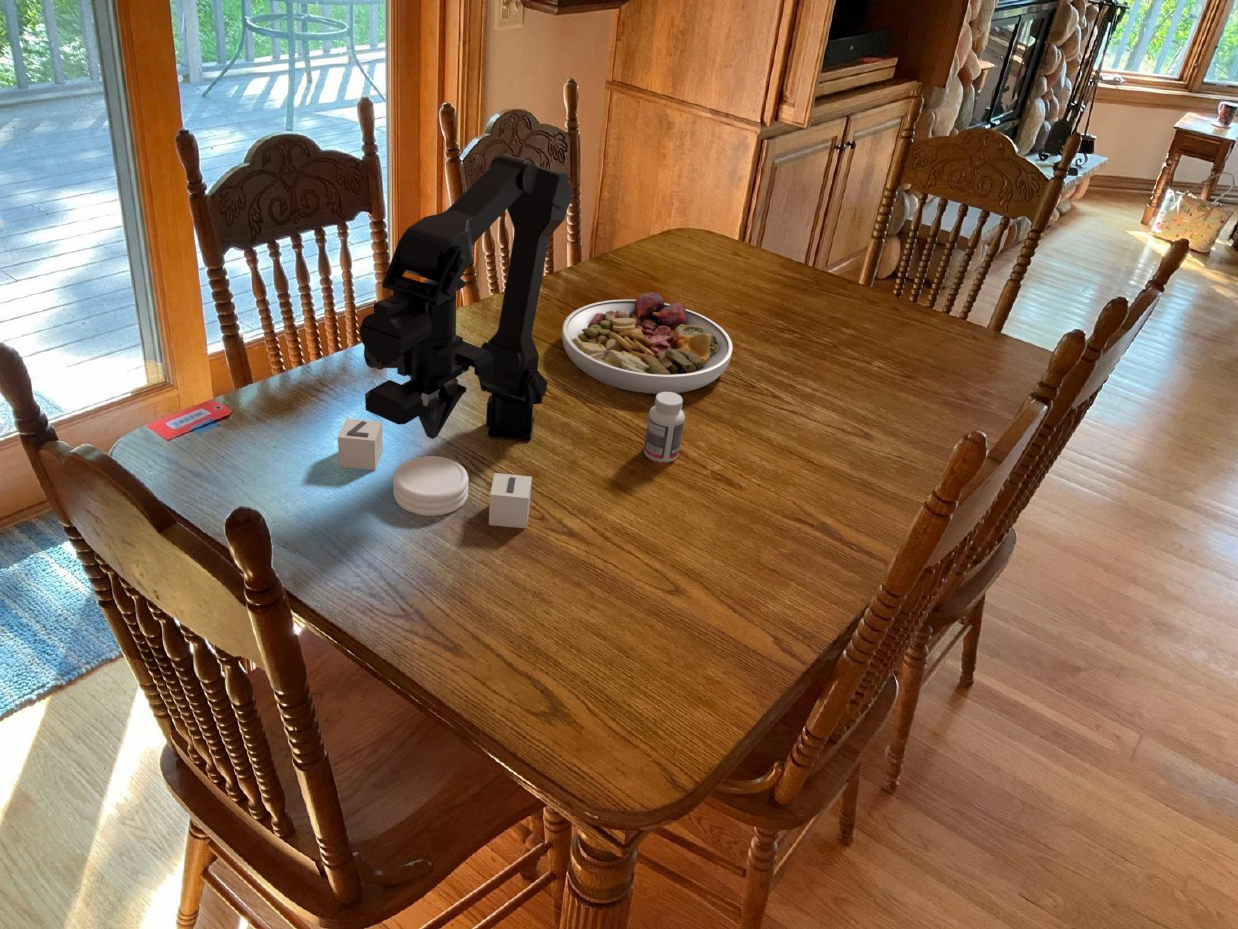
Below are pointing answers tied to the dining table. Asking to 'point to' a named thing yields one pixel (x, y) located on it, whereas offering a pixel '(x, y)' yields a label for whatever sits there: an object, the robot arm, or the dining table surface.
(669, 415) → the pill bottle
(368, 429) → the block seven
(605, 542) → the dining table surface
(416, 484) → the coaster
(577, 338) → the bowl
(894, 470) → the dining table surface
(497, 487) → the block one
